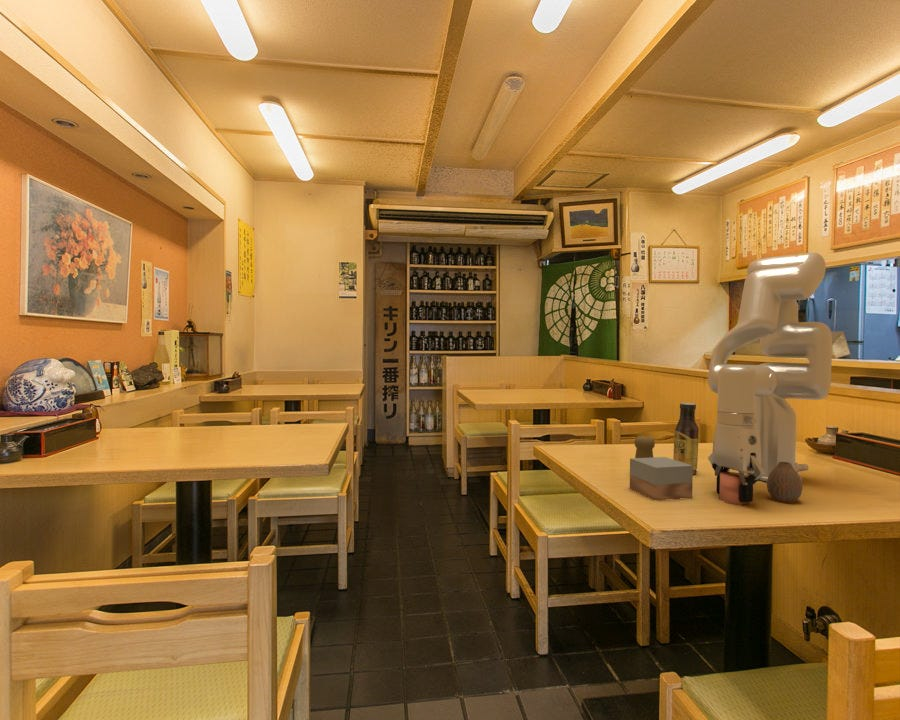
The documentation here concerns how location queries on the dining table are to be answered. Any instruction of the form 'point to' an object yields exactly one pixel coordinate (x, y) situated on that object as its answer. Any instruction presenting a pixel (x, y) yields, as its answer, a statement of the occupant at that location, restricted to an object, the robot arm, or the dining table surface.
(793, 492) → the brown egg-shaped piece
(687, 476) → the tower top block
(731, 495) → the reddish pink cylinder
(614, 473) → the dining table surface
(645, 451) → the cork
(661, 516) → the dining table surface
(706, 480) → the dining table surface
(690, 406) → the sauce bottle
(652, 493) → the tower bottom block
